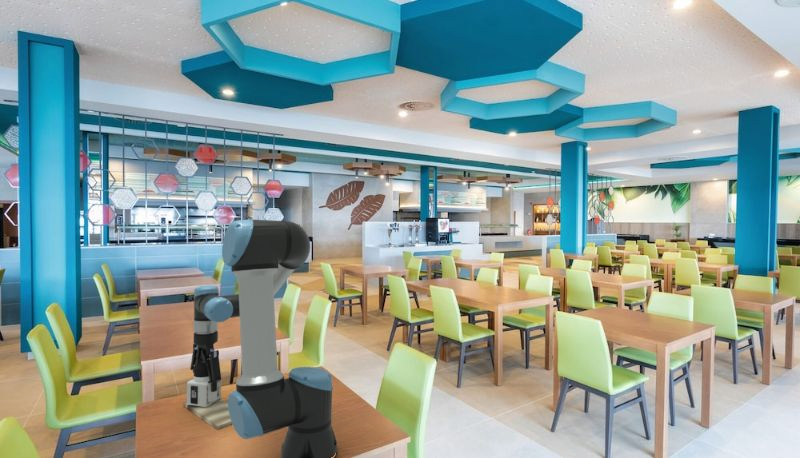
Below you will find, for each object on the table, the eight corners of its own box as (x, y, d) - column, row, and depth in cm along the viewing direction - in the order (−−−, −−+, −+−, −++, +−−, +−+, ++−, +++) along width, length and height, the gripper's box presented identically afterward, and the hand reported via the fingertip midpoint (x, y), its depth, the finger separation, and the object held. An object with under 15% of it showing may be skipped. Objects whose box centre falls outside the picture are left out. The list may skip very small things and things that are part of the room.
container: (206, 407, 137) (206, 368, 137) (186, 404, 139) (186, 366, 138) (221, 398, 144) (221, 361, 144) (202, 395, 146) (202, 358, 146)
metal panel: (247, 418, 134) (247, 414, 133) (217, 429, 126) (217, 426, 126) (212, 396, 149) (212, 393, 149) (183, 405, 141) (183, 402, 141)
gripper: (233, 335, 137) (232, 402, 137) (201, 323, 151) (200, 383, 152) (210, 340, 131) (209, 409, 132) (180, 327, 146) (179, 390, 146)
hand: (205, 395), depth 142 cm, fingers closed on container, 10 cm apart
